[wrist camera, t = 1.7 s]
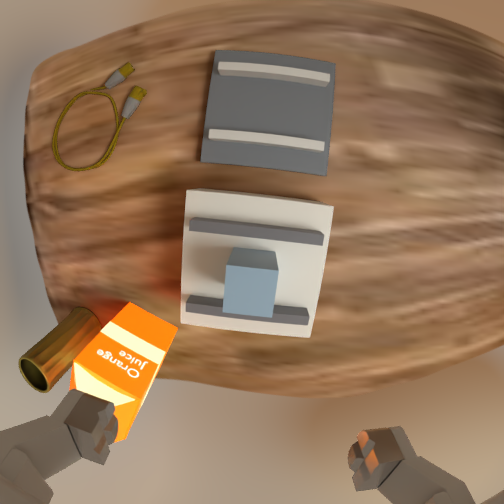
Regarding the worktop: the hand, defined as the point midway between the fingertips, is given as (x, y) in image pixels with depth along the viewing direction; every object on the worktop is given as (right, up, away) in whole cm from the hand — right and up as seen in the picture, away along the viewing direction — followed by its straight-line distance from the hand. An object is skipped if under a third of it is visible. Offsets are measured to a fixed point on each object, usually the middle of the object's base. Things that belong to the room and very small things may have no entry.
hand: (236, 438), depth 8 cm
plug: (0, +4, +21) cm, 21 cm away
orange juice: (-15, -6, +30) cm, 34 cm away
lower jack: (+2, +22, +22) cm, 31 cm away
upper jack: (+1, +6, +26) cm, 27 cm away
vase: (-25, -5, +30) cm, 39 cm away
